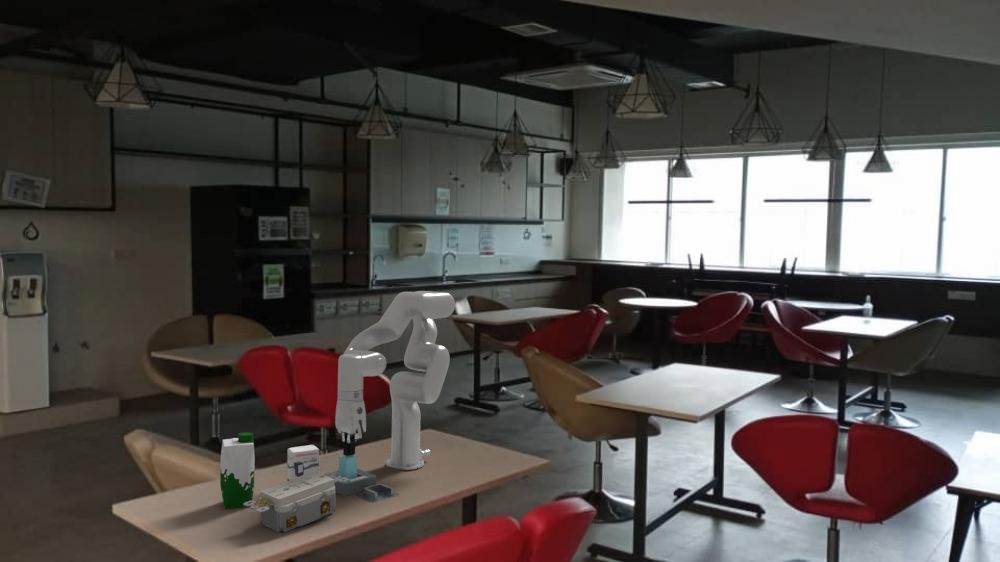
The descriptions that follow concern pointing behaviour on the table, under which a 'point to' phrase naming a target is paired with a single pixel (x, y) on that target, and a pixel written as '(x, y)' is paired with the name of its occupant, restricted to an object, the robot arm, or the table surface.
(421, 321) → the robot arm
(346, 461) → the plug
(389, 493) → the holster
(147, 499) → the table surface
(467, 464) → the table surface
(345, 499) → the table surface
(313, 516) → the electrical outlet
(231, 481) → the milk carton
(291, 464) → the ink box
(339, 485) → the port
